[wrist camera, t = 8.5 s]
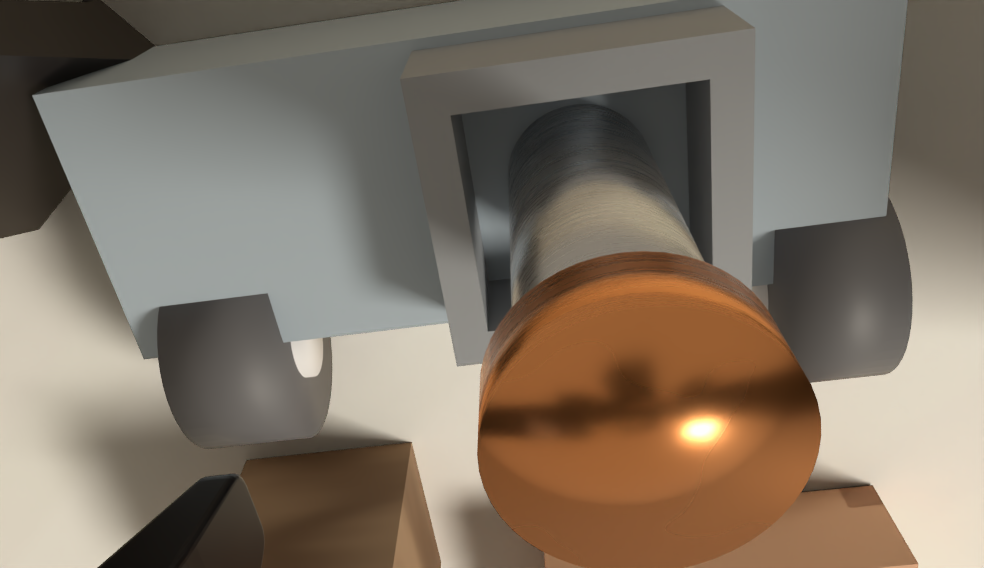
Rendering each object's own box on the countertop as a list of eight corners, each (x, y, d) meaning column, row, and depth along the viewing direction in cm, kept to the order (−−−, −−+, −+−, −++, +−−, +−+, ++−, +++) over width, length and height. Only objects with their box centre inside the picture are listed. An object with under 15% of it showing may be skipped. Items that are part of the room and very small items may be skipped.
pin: (668, 70, 15) (831, 286, 7) (675, 244, 16) (813, 558, 9) (474, 97, 15) (450, 331, 8) (501, 266, 17) (502, 586, 9)
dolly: (855, -60, 17) (999, -21, 12) (830, 307, 21) (928, 443, 16) (111, 53, 18) (-30, 127, 13) (230, 377, 22) (156, 523, 18)
